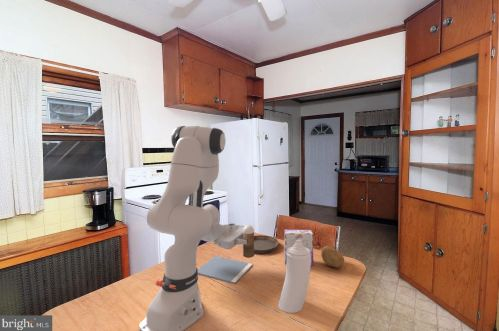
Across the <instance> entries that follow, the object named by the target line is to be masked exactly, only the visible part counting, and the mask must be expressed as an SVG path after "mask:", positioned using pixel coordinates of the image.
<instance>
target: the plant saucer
mask: <svg viewBox="0 0 499 331" xmlns="http://www.w3.org/2000/svg"><path fill="white" fill-rule="evenodd" d="M278 246H279V241H278V239H277V238H275V237H273V236H270V235H263V234H261V235H260V234H258V235H254V254H255V253H256V254H265V253H267V254H268V253H270V252H273V251H274V250H275V249H276V248H277V247H278Z"/></svg>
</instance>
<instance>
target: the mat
mask: <svg viewBox="0 0 499 331" xmlns="http://www.w3.org/2000/svg"><path fill="white" fill-rule="evenodd" d="M253 266H254V265H253V263H250V262H249V263H248V262H246V261H245V262H244V261H241V260H235V259H231V258H225V257H221V256H219V255H218V256H216V255H214V256H213V257H212V258H211V259H209V260H208V261H207V262H205V263H204V264H203V265H201V266H200V267H198V268H197V269H198V275H200V276H204V277H208V278H211V279H216V280H219V281H222V282H226V283H231V284H233V285H236V284H237V282H239V280H240V279H241V278H243V276H244V275H245V274H247V272H248V271H249V269H251V268H252V267H253Z"/></svg>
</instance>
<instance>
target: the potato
mask: <svg viewBox="0 0 499 331" xmlns="http://www.w3.org/2000/svg"><path fill="white" fill-rule="evenodd" d="M320 255H321V258H322V261H323V262H324V264H326V265H327V266H329V267H332V268H337V269H338V268H340V267H342V266H343V265H344V264H345V258H344V256H343V255H342V254H341V252H340V250H339V251H338V250H337V249H335V248H334V247H333V246H328V245H326V246H325V245H324V247H322V249H321V254H320Z"/></svg>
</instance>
